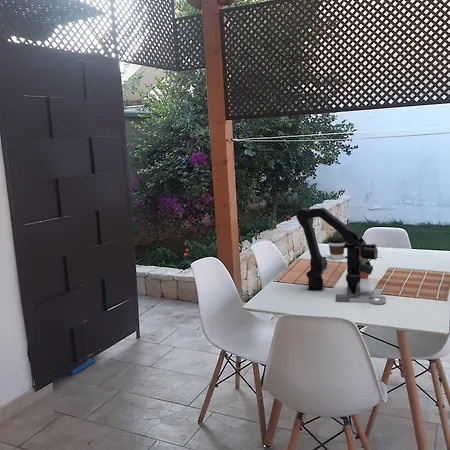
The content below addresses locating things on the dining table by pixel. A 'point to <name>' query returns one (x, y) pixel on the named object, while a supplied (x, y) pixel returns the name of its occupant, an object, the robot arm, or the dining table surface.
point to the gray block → (357, 291)
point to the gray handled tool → (363, 298)
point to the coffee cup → (336, 247)
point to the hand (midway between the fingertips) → (353, 290)
